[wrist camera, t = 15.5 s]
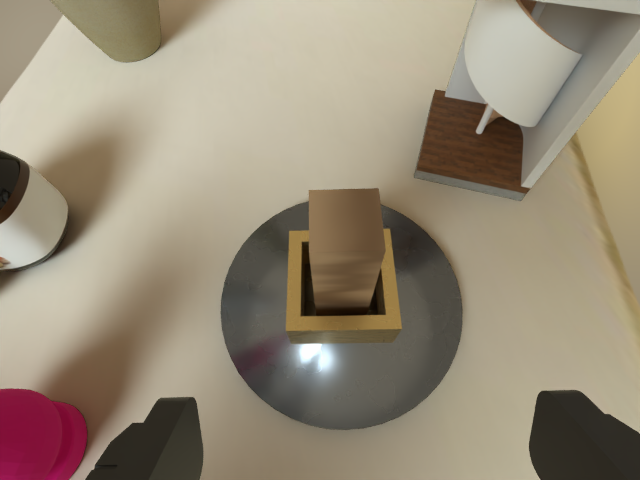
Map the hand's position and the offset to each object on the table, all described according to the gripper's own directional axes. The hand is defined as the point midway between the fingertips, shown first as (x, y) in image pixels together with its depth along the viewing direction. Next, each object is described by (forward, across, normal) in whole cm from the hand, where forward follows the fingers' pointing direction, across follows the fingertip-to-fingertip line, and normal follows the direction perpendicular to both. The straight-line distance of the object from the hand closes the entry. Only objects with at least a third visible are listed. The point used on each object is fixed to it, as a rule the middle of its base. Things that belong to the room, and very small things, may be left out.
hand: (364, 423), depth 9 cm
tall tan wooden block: (+21, 0, +6) cm, 22 cm away
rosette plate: (+22, 0, +7) cm, 23 cm away
